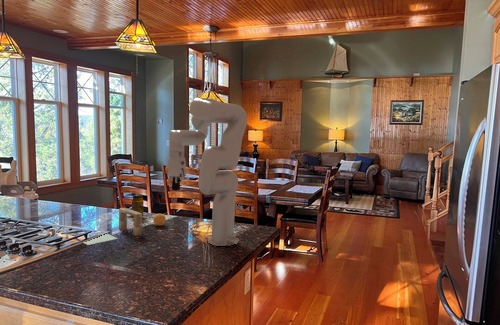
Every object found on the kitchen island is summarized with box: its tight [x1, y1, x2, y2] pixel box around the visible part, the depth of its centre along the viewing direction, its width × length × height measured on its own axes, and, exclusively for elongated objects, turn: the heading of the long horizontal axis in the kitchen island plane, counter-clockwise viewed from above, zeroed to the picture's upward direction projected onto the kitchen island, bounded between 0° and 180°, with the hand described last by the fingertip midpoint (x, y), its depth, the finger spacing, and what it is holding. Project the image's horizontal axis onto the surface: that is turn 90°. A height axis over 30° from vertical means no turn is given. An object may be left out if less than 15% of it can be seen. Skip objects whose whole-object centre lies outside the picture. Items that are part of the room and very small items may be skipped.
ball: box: [153, 213, 167, 227], centre depth 177 cm, size 6×6×6 cm
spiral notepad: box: [83, 233, 119, 246], centre depth 153 cm, size 13×13×1 cm
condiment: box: [127, 194, 146, 220], centre depth 191 cm, size 7×8×12 cm
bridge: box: [118, 207, 143, 237], centre depth 165 cm, size 3×15×10 cm, turn 48°
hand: (175, 189), depth 183 cm, fingers closed
